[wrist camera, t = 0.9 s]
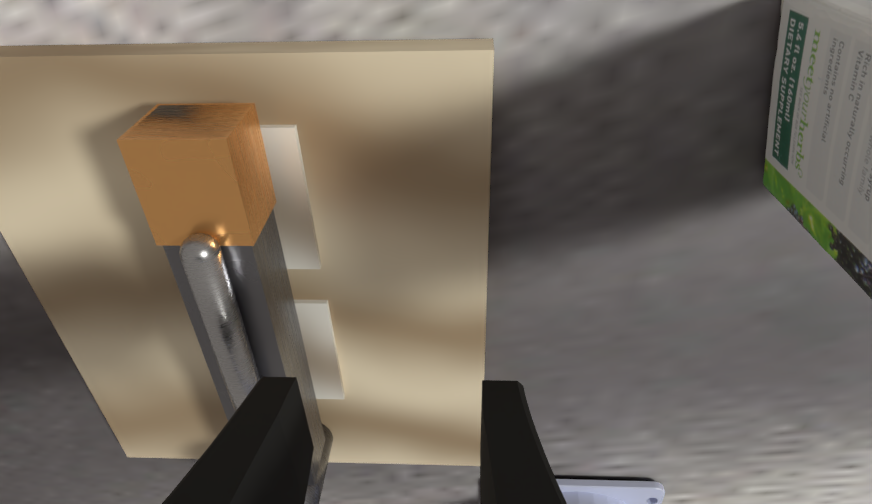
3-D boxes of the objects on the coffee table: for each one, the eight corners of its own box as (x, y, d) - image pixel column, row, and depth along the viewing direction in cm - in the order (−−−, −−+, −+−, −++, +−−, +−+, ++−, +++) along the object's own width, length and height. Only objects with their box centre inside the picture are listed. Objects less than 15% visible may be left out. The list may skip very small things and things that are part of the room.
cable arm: (338, 453, 25) (317, 555, 22) (280, 452, 25) (249, 553, 22) (263, 91, 16) (203, 167, 12) (170, 92, 16) (84, 168, 12)
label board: (481, 446, 26) (481, 472, 25) (137, 438, 27) (124, 462, 26) (492, 38, 16) (494, 53, 15) (-70, 46, 17) (-106, 61, 16)
